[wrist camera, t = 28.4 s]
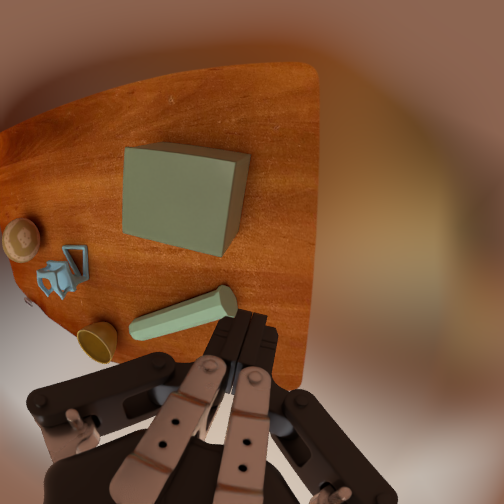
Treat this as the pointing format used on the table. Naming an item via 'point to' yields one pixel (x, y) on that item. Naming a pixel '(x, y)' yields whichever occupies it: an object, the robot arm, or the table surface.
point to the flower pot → (98, 341)
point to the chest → (239, 178)
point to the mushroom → (21, 240)
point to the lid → (177, 198)
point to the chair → (64, 273)
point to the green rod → (185, 314)
